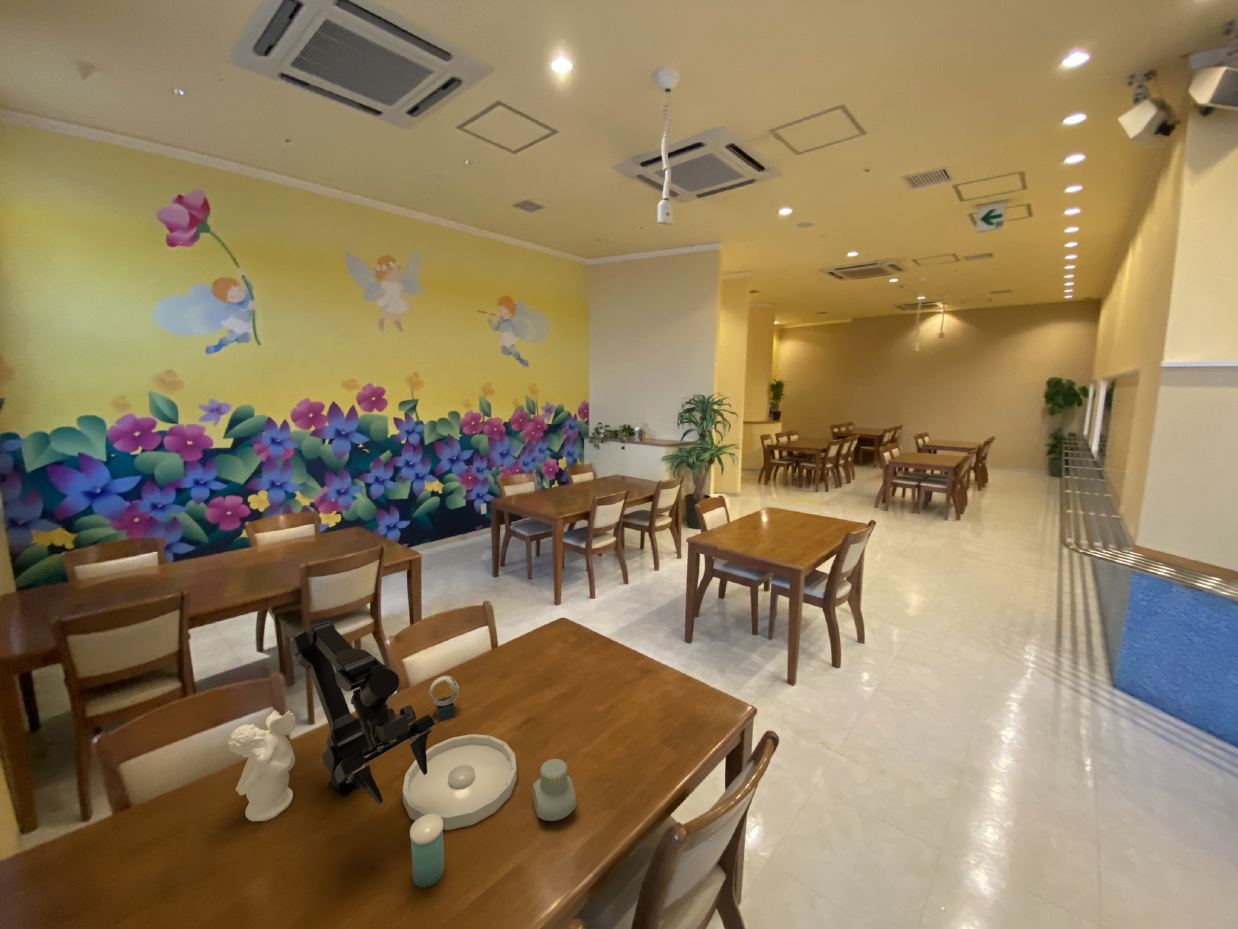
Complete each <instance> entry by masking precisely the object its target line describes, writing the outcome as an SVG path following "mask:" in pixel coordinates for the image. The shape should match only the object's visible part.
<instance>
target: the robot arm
mask: <svg viewBox="0 0 1238 929" xmlns="http://www.w3.org/2000/svg"><path fill="white" fill-rule="evenodd" d="M289 652H290V654H291V656H292V657H294V658H295V660H296V662H297V664H298V665H299V666H300V667H302V668H304V669H306V670H308V672H309V673H310V676H311V677H310V678H311V679H312V681H313V684H314V687H315V691H316V693H317V696H318V699H319V701H320V704H321V707H322V710H323V713H324V715H325V718H326V720H327V723H328V725H329V731H328V735H327V740H326V746H327V748H326V750H324V752H323V753H322V754H321V756H322V762H323V765H324V766H325V767H326V768H327V770H328V771H329V773H330V781H329V782H328V783H327V787H328V788H329V789H331V790H332V791H334V792H336V793H337V794H339V796H340V795H341V797H346V796H347V795H349V794H350V793H351V792H353V791H354V790H356V789H357V788H358V787H359V788H361V789H362V790H363V791H365V792H366V793H367V794H368V795H369V796H370V797H371V798H372V799H373V800H374V801H375V802H377V803H378V805H379V804H382V803H383V801H384V800H383V797H382V793H381V790H380V789H379V787H378V785H377V782H376V781H375V779H374V776H373V775H372V771H371V765H370V764H368V763H370V762H371V761H373V760H375V759H376V758H378V757H380V756H382V755H383V754H386V753H388V752H389V751H391V750H392V749H394V748H396V747H397V746H400V745H401V744H403V743H405V742H406V741H408V740H411V741H412V742H411V743H410V744H409V746H410V748H411V749H410V750H411V751H412V754H413V755H414V758H415V760H417V763H418V765H419V767H420V769H421V771H422V773H423V774H424V775H426V774H427V757H426V751H427V740H428V738H429V735H431V733H432V732H433V731H432V729H433V728H434V727H435V726H436V725H437V723H436V721H435V718H434V717H433V715H430V714H426V715H424V716H422V717H420V718H419V719H417V715H416V711H415V709H414V708H413V706H412V704H408V705H405V706H404V707H402V708H399V713H397V714H396V713H395V710H394V709H393V708H392V707H391V708H390V706H389V703H388V701H389V699H391V697H392V696H394V694H395V692H397V691H398V688H399V685H400V678H399V675H398V674H397V673H396V672H395V671H394V670H392V669H389V668H387V665H385V664H384V663H382V662H381V661H379V660H378V659H377V658H376V657H375V656H374V655H372V654H371V653H370V652H368V651H367V650H365V649H359V648H354V647H353V646H352V645H351V644H350V643H349V642H348V641H347V639H345V637H343V635H342V634H341V633H340V632H339V631H338V630H337V629H336V626H335V623H334V622H333V621H324V622H321V623H319V624H315V625H313V626H310V628H308V629H306V630H305V631H304V632H302V633H299V634H296V635H294V636H293V639H292V640H291V641H290V642H289ZM334 668H335V669H334ZM343 691H344V692H351V691H352V697H351V698H350V704H351V705H352V706H353V708H354V712H356V715H357V717H356V716H354V715H353V714H351V711H350V708H349V706H348V703H347V700H346V698H345V696H344V692H343ZM367 764H368V765H367Z"/></svg>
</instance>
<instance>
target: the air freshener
mask: <svg viewBox="0 0 1238 929" xmlns="http://www.w3.org/2000/svg"><path fill="white" fill-rule="evenodd" d="M531 790H532V791H531V792H532V800H533V806H534V809H535V813H536V816H537V817H538V818H539V819H541V820H542V821H543V820H544V821H549V822H555V821H559V820H563V819H564V818H566V817H568V816H569V815H570V814H572V812H573V811H574V810H575V808H576V807H577V797H576V791H575V788H574V784H573V781H572V779H571V777H570V776H569V775H568V765H567V763H566V762H565V761H564V760H562V759H560V758H551V759H547V761H544V762H543V763H542V765H541V767H540V778H538V779H537V780H536V781H535V782H534V783H533V784H532V789H531Z"/></svg>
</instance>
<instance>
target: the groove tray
mask: <svg viewBox="0 0 1238 929" xmlns="http://www.w3.org/2000/svg"><path fill="white" fill-rule="evenodd" d="M426 757H427V774H426V775H424V774H423V773H422V771H421V769H420V767H419V765H418V763H417V760H416V759H415V760H414V761H413V763H412V764H411V765H410V767H408V770H407V771H406V773H405V774H404V775H405V776H404V780H403V785H402V804H403V807H404V808H405V810H406V812H407V814H408V817H409V819H411V820H413V821H414V822H415V821H416V820H417V819H419V818H420V817H422V816H424V815H428V814H436V815H439V816H440V817H441V818H442V820H443V830H444V831H451V830H456V829H459V828H465V827H470V826H473V825H475V824H477V823H479V822H481V821H482V820H484V819H486V818H489V817H490V816H491V815H493V814H495V813H496V812H497V811H498V810H499V809H500V808H501V806H503V805H504V803H506V801H507V800H509V798H510V797H511V795H512V792H513V790H514V787H515V784H516V782H517V776H518V775H517V770H518V769H517V762H516V754H515V752H514V751H513V750H512V749H511V747H510V746H509V744H507V742H505V741H503V740H502V739H499V738H496V737H494V736H493V735H487V734H474V733H471V734H466V735H460V736H454V737H451V738H448V739H446V740H444V741H441V742H439V743H437V744H434V745H432V746H431V747H430V748H428V749H426Z"/></svg>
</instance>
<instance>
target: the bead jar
mask: <svg viewBox="0 0 1238 929" xmlns="http://www.w3.org/2000/svg"><path fill="white" fill-rule="evenodd" d="M443 833H444V831H443V820H442V818H441V817H440V816H439V815H436V814H428V815H424V816H422V817H420V818H419V819H417V820H416V821H414V822H412V825H411V827H410V829H409V836H410V843H411V845H410V846H411V864H412V866H411V867H412V880H413V883H414V885H416V886H417V887H419V888H428V887H431V886H433V885H435V884H436V883H437V882H439V881H440V880H441V878H442V877H443V875H444V872H445V854H444V834H443Z"/></svg>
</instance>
